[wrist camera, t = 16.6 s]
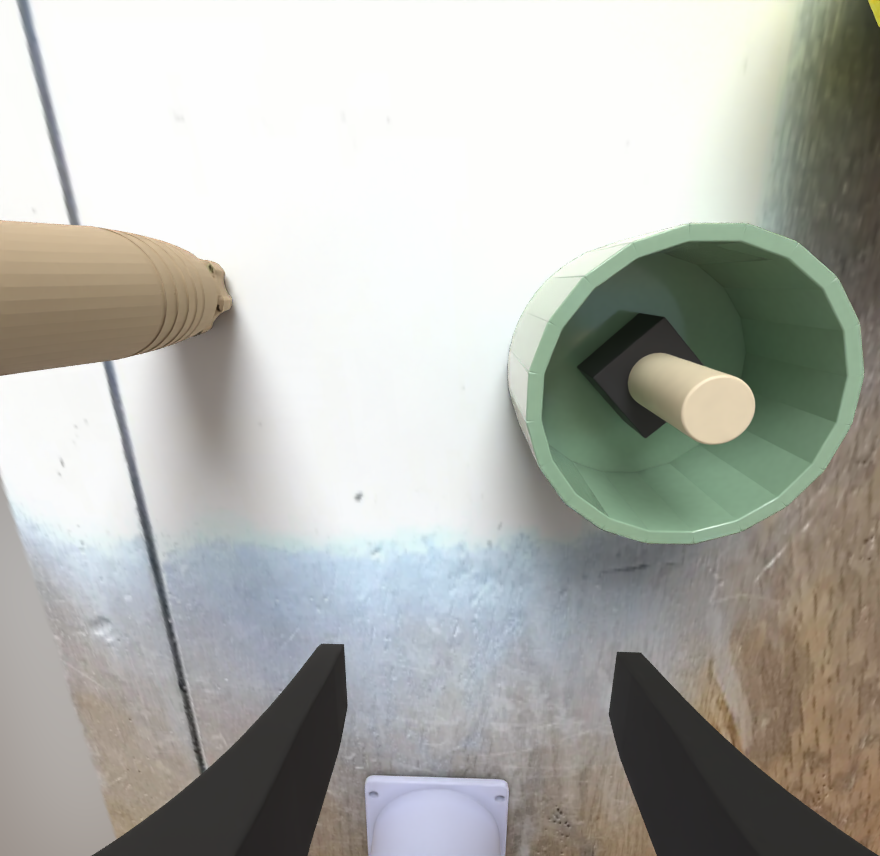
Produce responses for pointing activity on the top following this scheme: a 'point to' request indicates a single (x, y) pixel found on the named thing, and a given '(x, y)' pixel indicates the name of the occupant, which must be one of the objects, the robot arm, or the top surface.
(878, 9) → the bowl
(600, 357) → the brush
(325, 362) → the top surface
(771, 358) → the beaker
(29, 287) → the handle
